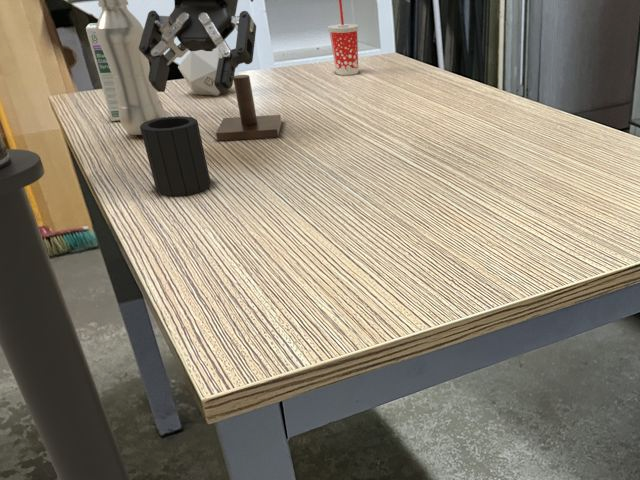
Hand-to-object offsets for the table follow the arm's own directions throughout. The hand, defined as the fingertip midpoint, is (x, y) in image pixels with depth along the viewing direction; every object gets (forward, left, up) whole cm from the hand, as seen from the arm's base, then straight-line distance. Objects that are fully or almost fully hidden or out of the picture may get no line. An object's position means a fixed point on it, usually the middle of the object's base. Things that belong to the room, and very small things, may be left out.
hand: (188, 89), depth 89 cm
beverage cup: (+20, +61, -11) cm, 65 cm away
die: (-6, +48, -11) cm, 50 cm away
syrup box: (-17, +33, -11) cm, 39 cm away
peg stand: (+4, +19, -11) cm, 22 cm away
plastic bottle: (-12, +21, -11) cm, 26 cm away
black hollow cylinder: (-2, -6, -11) cm, 12 cm away
